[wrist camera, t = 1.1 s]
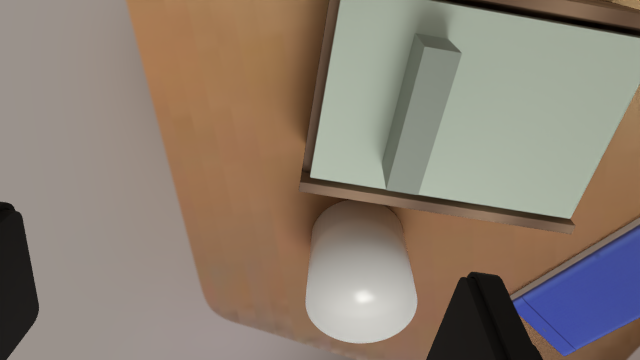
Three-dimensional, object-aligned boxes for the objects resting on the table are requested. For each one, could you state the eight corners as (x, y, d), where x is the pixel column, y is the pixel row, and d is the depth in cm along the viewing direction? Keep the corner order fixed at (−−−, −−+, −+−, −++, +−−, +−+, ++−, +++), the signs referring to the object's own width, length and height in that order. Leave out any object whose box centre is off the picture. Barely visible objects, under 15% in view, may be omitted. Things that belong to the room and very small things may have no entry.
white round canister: (413, 206, 33) (430, 269, 27) (391, 279, 37) (401, 349, 31) (319, 192, 33) (314, 252, 27) (305, 266, 36) (298, 335, 30)
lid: (648, 37, 22) (703, 56, 19) (562, 209, 27) (594, 249, 24) (343, -18, 21) (343, -8, 18) (311, 169, 26) (307, 204, 23)
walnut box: (611, 2, 26) (683, 21, 21) (531, 182, 32) (571, 234, 27) (336, -48, 25) (336, -42, 20) (305, 145, 31) (298, 191, 26)
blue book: (662, 216, 32) (510, 307, 36) (714, 282, 34) (565, 359, 39) (649, 204, 33) (504, 293, 38) (700, 268, 36) (558, 344, 40)
